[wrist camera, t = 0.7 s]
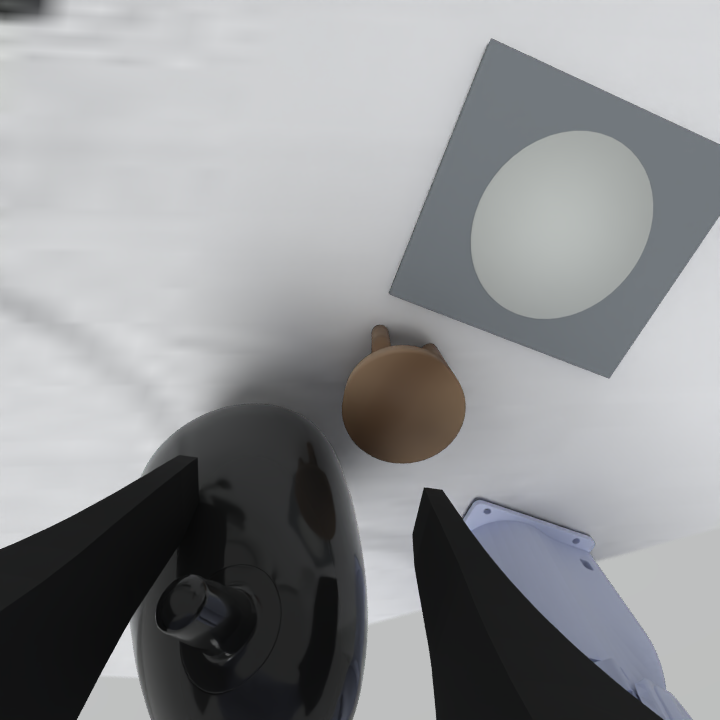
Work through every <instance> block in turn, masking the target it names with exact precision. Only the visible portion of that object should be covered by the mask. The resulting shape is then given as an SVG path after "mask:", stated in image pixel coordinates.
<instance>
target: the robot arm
mask: <svg viewBox="0 0 720 720" xmlns="http://www.w3.org/2000/svg"><path fill="white" fill-rule="evenodd" d="M198 504H199V481H198V457H191V456H184V455H178V456H176V457H175V458H173V459H171V460H169V461H168V462H166V463H164V464H163V465H161V466H159V467H158V468H156V469H154V470H153V471H151V472H149V473H148V474H146V475H144V476H143V477H141V478H139V479H138V480H136V481H134V482H132V483H131V484H129V485H127V486H126V487H124V488H122V489H121V490H119V491H117V492H115V493H114V494H112V495H110V496H108V497H106V498H105V499H103V500H101V501H99V502H97V503H95V504H94V505H92V506H90V507H88V508H86V509H84V510H82V511H81V512H79V513H77V514H75V515H73V516H71V517H69V518H67V519H65V520H63V521H61V522H59V523H57V524H55V525H53V526H51V527H49V528H47V529H45V530H43V531H40V532H38V533H36V534H34V535H32V536H30V537H28V538H25V539H23V540H21V541H19V542H16V543H14V544H12V545H9V546H7V547H5V548H2V549H0V720H77V718H78V716H79V714H80V712H81V710H82V709H83V707H84V705H85V703H86V701H87V699H88V697H89V695H90V693H91V691H92V689H93V688H94V686H95V683H96V682H97V680H98V678H99V676H100V674H101V672H102V670H103V668H104V667H105V665H106V663H107V661H108V659H109V657H110V656H111V654H112V652H113V650H114V648H115V646H116V645H117V643H118V641H119V639H120V637H121V635H122V634H123V632H124V630H125V628H126V627H127V625H128V623H129V622H130V620H131V618H132V617H133V615H134V613H135V612H136V610H137V609H138V607H139V606H140V604H141V603H142V601H143V600H144V598H145V596H146V595H147V593H148V592H149V590H150V589H151V587H152V586H153V584H154V583H155V581H156V580H157V578H158V577H159V575H160V574H161V572H162V571H163V569H164V568H165V566H166V564H167V563H168V561H169V560H170V558H171V557H172V555H173V554H174V552H175V551H176V549H177V548H178V546H179V544H180V543H181V541H182V540H183V538H184V535H185V533H186V531H187V528H188V526H189V524H190V521H191V519H192V517H193V515H194V512H195V510H196V508H197V506H198ZM487 508H488V510H485V509H487ZM412 535H413V552H414V566H415V572H416V578H417V584H418V590H419V596H420V601H421V607H422V612H423V618H424V623H425V629H426V635H427V640H428V646H429V651H430V652H429V653H430V659H431V667H432V677H433V686H434V698H435V708H436V720H693V719H692V718H691V717H690V715H689V714H688V713H687V711H686V710H685V709H684V708H683V706H682V705H681V704H680V703H679V701H678V700H677V699H676V698H675V697H674V696H673V694H671V693H670V692H669V691H667V690H666V685H665V679H664V675H663V670H662V667H661V663H660V660H659V658H658V656H657V653H656V650H655V649H654V646H653V644H652V642H651V641H650V639H649V637H648V636H647V634H646V633H645V631H644V630H643V628H642V627H641V626H640V624H639V623H638V621H637V620H636V619H635V617H634V616H633V614H632V613H631V612H630V610H629V609H628V607H627V606H626V604H625V603H624V601H623V600H622V599H621V597H620V596H619V594H618V593H617V591H616V590H615V589H614V587H613V586H612V584H611V583H610V582H609V580H608V579H607V577H606V576H605V575H604V573H603V572H602V570H601V569H600V567H599V566H598V564H597V563H596V562H595V560H594V559H593V557H592V556H591V554H590V553H589V552H590V551H591V550H592V549H593V548H594V546H595V542H594V540H593V539H592V538H591V537H590V536H587V535H584V534H581V533H578V532H575V531H572V530H569V529H566V528H563V527H560V526H557V525H554V524H551V523H548V522H545V521H542V520H540V519H537V518H534V517H531V516H528V515H525V514H522V513H519V512H516V511H513V510H510V509H507V508H504V507H501V506H498V505H495V504H492V503H489V502H486V501H483V500H477V501H475V502H474V503H473V504H472V506H471V507H470V509H469V511H468V512H467V514H466V516H465V517H464V519H462V518H461V516H460V515H459V513H458V512H457V510H456V509H455V508H454V506H453V505H452V503H451V502H450V500H449V499H448V497H447V496H446V495H445V493H444V492H443V490H439V489H432V488H424V490H423V494H422V498H421V502H420V506H419V510H418V514H417V518H416V522H415V526H414V530H413V534H412Z"/></svg>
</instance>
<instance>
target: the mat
mask: <svg viewBox="0 0 720 720" xmlns="http://www.w3.org/2000/svg"><path fill="white" fill-rule="evenodd" d="M719 216H720V144H718V143H716V142H713V141H711V140H709V139H707V138H705V137H703V136H701V135H698V134H696V133H694V132H692V131H690V130H688V129H685V128H683V127H681V126H679V125H677V124H675V123H673V122H670V121H668V120H666V119H664V118H662V117H660V116H658V115H655V114H653V113H651V112H649V111H647V110H645V109H642V108H640V107H638V106H636V105H634V104H632V103H630V102H627V101H625V100H623V99H621V98H619V97H617V96H615V95H612V94H610V93H608V92H606V91H604V90H602V89H600V88H597V87H595V86H593V85H591V84H589V83H587V82H584V81H582V80H580V79H578V78H576V77H574V76H572V75H569V74H567V73H565V72H563V71H561V70H559V69H557V68H554V67H552V66H550V65H548V64H546V63H544V62H541V61H539V60H537V59H535V58H533V57H531V56H529V55H526V54H524V53H522V52H520V51H518V50H516V49H514V48H511V47H509V46H507V45H505V44H503V43H501V42H498V41H496V40H494V39H492V38H491V40H490V42H489V44H488V45H487V47H486V50H485V53H484V55H483V58H482V60H481V63H480V65H479V68H478V70H477V73H476V75H475V78H474V80H473V83H472V85H471V88H470V90H469V93H468V95H467V98H466V100H465V103H464V105H463V108H462V110H461V113H460V115H459V118H458V120H457V123H456V125H455V128H454V130H453V133H452V136H451V138H450V141H449V143H448V146H447V148H446V151H445V153H444V156H443V158H442V161H441V163H440V166H439V168H438V171H437V173H436V176H435V178H434V181H433V183H432V186H431V188H430V191H429V193H428V196H427V198H426V201H425V203H424V206H423V208H422V211H421V213H420V216H419V219H418V221H417V224H416V226H415V229H414V231H413V234H412V236H411V239H410V241H409V244H408V246H407V249H406V251H405V254H404V256H403V259H402V261H401V264H400V266H399V269H398V271H397V274H396V276H395V279H394V281H393V284H392V286H391V289H390V291H389V294H390V295H393V296H395V297H398V298H400V299H403V300H406V301H408V302H411V303H414V304H416V305H419V306H421V307H424V308H427V309H429V310H432V311H434V312H437V313H440V314H442V315H445V316H447V317H450V318H453V319H455V320H458V321H460V322H463V323H466V324H468V325H471V326H473V327H476V328H479V329H481V330H484V331H486V332H489V333H492V334H494V335H497V336H500V337H502V338H505V339H507V340H510V341H513V342H515V343H518V344H520V345H523V346H526V347H528V348H531V349H533V350H536V351H539V352H541V353H544V354H546V355H549V356H552V357H554V358H557V359H559V360H562V361H565V362H567V363H570V364H572V365H575V366H578V367H580V368H583V369H586V370H588V371H591V372H593V373H596V374H599V375H601V376H604V377H606V378H610V377H611V375H612V374H613V372H614V371H615V369H616V368H617V366H618V365H619V363H620V362H621V360H622V359H623V357H624V356H625V355H626V353H627V352H628V350H629V349H630V347H631V346H632V344H633V343H634V341H635V340H636V338H637V337H638V335H639V334H640V332H641V331H642V329H643V328H644V327H645V325H646V324H647V322H648V321H649V319H650V318H651V316H652V315H653V313H654V312H655V310H656V309H657V307H658V306H659V304H660V303H661V301H662V300H663V299H664V297H665V296H666V294H667V293H668V291H669V290H670V288H671V287H672V285H673V284H674V282H675V281H676V279H677V278H678V276H679V275H680V273H681V272H682V271H683V269H684V268H685V266H686V265H687V263H688V262H689V260H690V259H691V257H692V256H693V254H694V253H695V251H696V250H697V248H698V247H699V245H700V244H701V243H702V241H703V240H704V238H705V237H706V235H707V234H708V232H709V231H710V229H711V228H712V226H713V225H714V223H715V222H716V220H717V219H718V217H719Z"/></svg>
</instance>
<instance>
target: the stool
mask: <svg viewBox="0 0 720 720" xmlns="http://www.w3.org/2000/svg"><path fill="white" fill-rule="evenodd" d="M342 417H343V422H344V425H345V428H346V430H347V432H348V434H349V436H350V437H351V439H352V440H353V441H354V443H355V444H356V445H357V446H358V447H359V448H360V449H362V450H363V451H364V452H366V453H367V454H369V455H371V456H372V457H375V458H377V459H379V460H383V461H386V462H391V463H413V462H419V461H422V460H425V459H428V458H430V457H432V456H434V455H436V454H438V453H439V452H441V451H442V450H444V449H445V448H446V447H447V446H448V445H449V444H450V443H451V442H452V441H453V440H454V439H455V437H456V436H457V434H458V433H459V431H460V429H461V427H462V424H463V421H464V417H465V397H464V393H463V390H462V388H461V385H460V383H459V382H458V380H457V378H456V377H455V375H454V374H453V372H452V371H451V369H450V368H449V366H448V365H447V363H446V361H445V360H444V358H443V357H442V355H441V353H440V352H439V350H438V349H437V347H436V346H435V345H434V344H426V345H424V346H423V347H422V348H420V347H416V346H410V345H396V346H391V343H390V338H389V332H388V329H387V328H386V327H385V326H383V325H377V326H375V327H374V328H373V330H372V353H371V354H370V355H368V356H367V357H365V358H364V359H363V360H362V361H361V362H359V363H358V365H357V366H356V367H355V368H354V370H353V371H352V373H351V374H350V376H349V378H348V380H347V383H346V387H345V391H344V397H343V403H342Z"/></svg>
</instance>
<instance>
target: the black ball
mask: <svg viewBox="0 0 720 720" xmlns="http://www.w3.org/2000/svg"><path fill="white" fill-rule="evenodd" d="M178 455H184V456H191V457H198V481H199V504H198V506H197V508H196V510H195V512H194V515H193V517H192V519H191V521H190V524H189V526H188V528H187V531H186V533H185V535H184V538H183V540H182V541H181V543H180V544H179V546H178V548H177V549H176V551H175V552H174V554H173V555H172V557H171V558H170V560H169V561H168V563H167V564H166V566H165V568H164V569H163V571H162V572H161V574H160V575H159V577H158V578H157V580H156V581H155V583H154V584H153V586H152V587H151V589H150V590H149V592H148V593H147V595H146V596H145V598H144V600H143V601H142V603H141V604H140V606H139V607H138V609H137V610H136V612H135V613H134V615H133V617H132V618H131V620H130V629H131V636H132V643H133V650H134V656H135V662H136V667H137V672H138V677H139V681H140V685H141V689H142V692H143V696H144V699H145V703H146V706H147V709H148V712H149V715H150V718H151V720H352V719H353V717H354V714H355V711H356V707H357V704H358V700H359V695H360V691H361V686H362V680H363V674H364V666H365V658H366V647H367V631H368V606H367V586H366V575H365V567H364V560H363V553H362V547H361V541H360V535H359V530H358V524H357V519H356V515H355V510H354V506H353V502H352V498H351V495H350V491H349V488H348V485H347V482H346V479H345V476H344V473H343V471H342V468H341V465H340V463H339V460H338V458H337V456H336V454H335V452H334V450H333V448H332V446H331V444H330V443H329V441H328V440H327V438H326V437H325V436H324V434H323V433H322V432H321V431H320V430H319V428H318V427H317V426H316V425H314V424H313V423H312V422H311V421H310V420H308V419H307V418H305V417H304V416H302V415H300V414H298V413H296V412H294V411H292V410H289V409H286V408H283V407H279V406H274V405H268V404H241V405H234V406H229V407H225V408H221V409H218V410H215V411H212V412H209V413H207V414H204V415H202V416H200V417H198V418H196V419H194V420H192V421H191V422H189V423H187V424H186V425H184V426H183V427H181V428H180V429H179V430H177V431H176V432H175V433H173V434H172V435H171V436H170V437H169V438H168V439H167V440H166V441H165V442H164V443H163V444H162V445H161V446H160V447H159V448H158V449H157V451H156V452H155V453H154V454H153V456H152V457H151V459H150V460H149V462H148V463H147V465H146V467H145V469H144V471H143V473H142V475H141V477H143V476H144V475H146V474H148V473H149V472H151V471H153V470H154V469H156V468H158V467H159V466H161V465H163V464H164V463H166V462H168V461H169V460H171V459H173V458H175V457H176V456H178ZM141 477H140V478H141Z"/></svg>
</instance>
